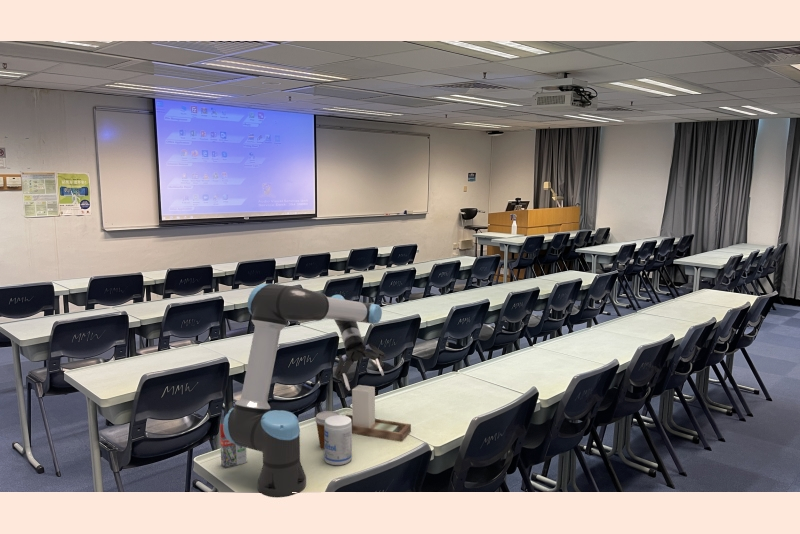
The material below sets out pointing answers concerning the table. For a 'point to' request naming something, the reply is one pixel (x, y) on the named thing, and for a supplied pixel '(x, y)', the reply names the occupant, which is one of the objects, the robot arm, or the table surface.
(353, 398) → the block
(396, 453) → the table surface
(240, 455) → the ink box
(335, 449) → the supplement tub
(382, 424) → the trap track
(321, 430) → the disposable coffee cup
